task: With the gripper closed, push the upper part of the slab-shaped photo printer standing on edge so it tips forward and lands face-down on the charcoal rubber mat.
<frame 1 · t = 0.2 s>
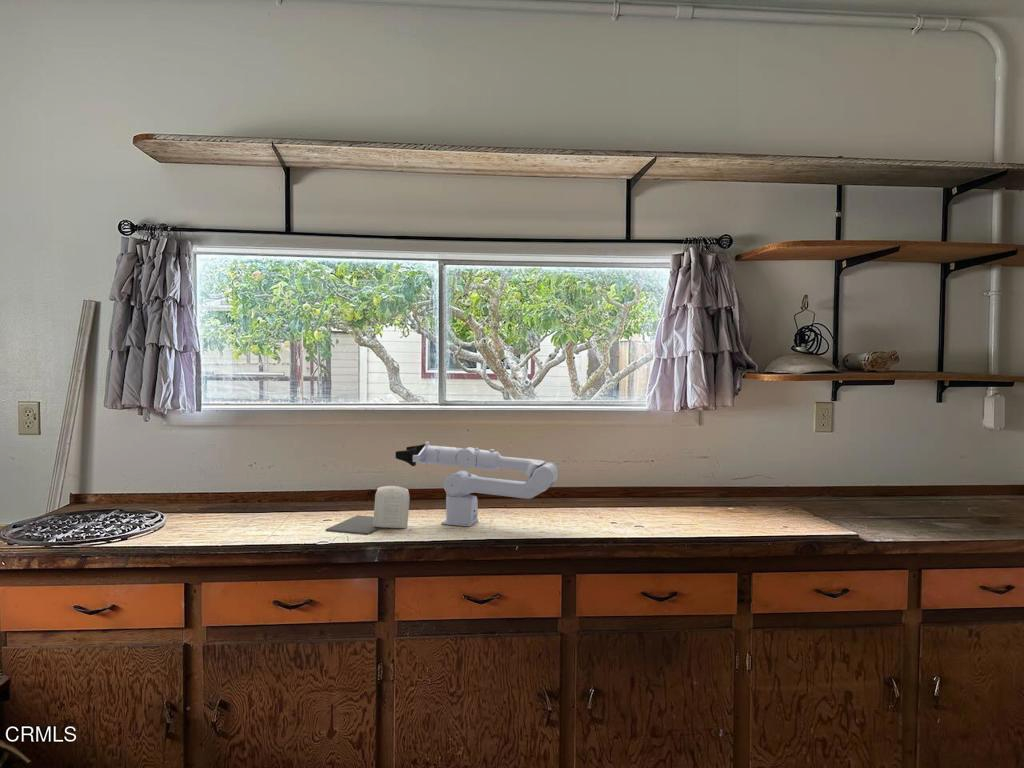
hand: (401, 452, 201), 21 cm above the counter, tool horizontal, fingers open, 7 cm apart
mat: (362, 525, 193), on the counter
photo printer: (390, 527, 190), on the counter, touching mat
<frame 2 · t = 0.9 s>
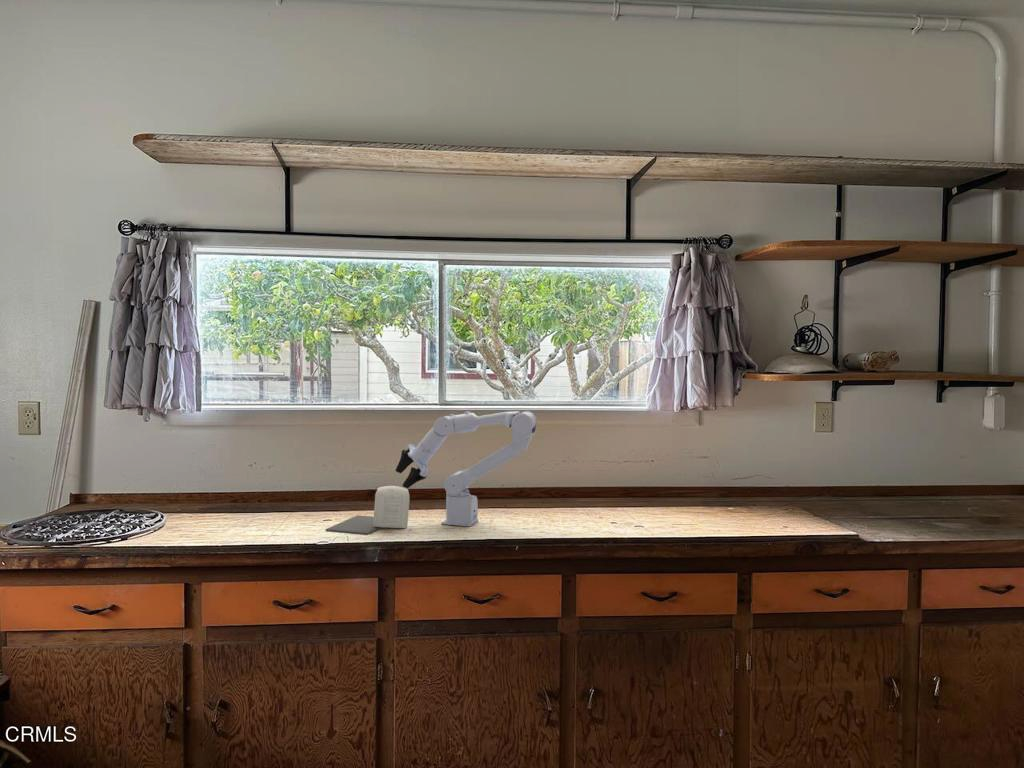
hand: (401, 479, 200), 13 cm above the counter, tool tilted 40°, fingers open, 7 cm apart
nothing on the counter moved.
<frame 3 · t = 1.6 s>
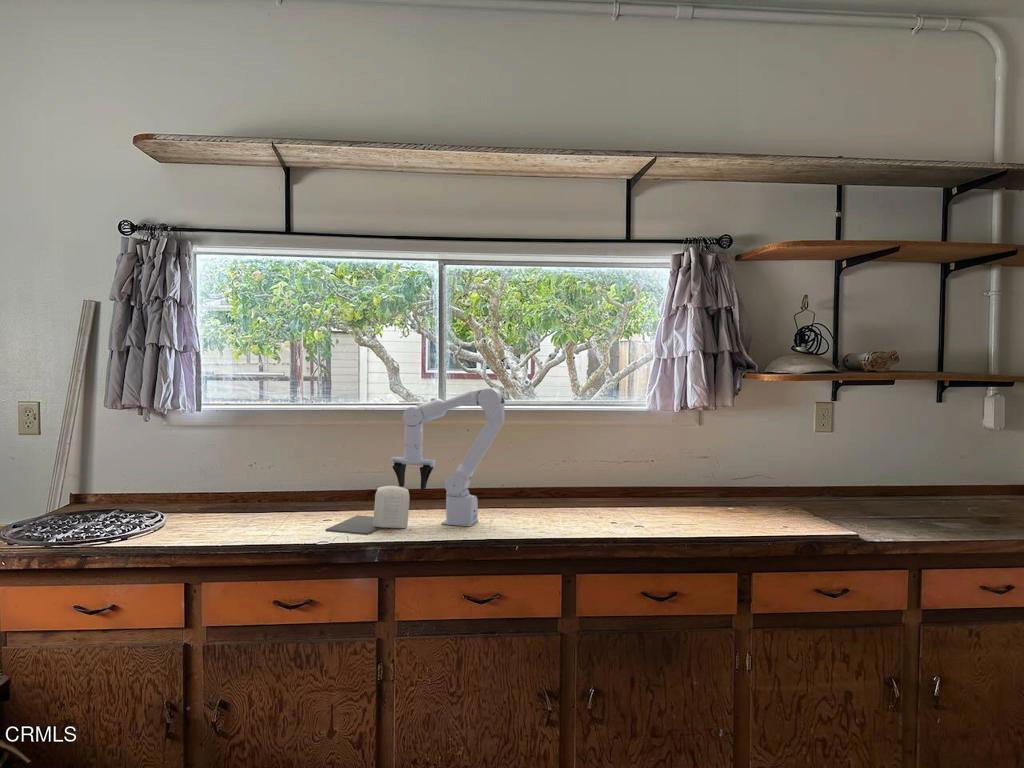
hand: (412, 487, 199), 10 cm above the counter, tool pointing down, fingers open, 7 cm apart
nothing on the counter moved.
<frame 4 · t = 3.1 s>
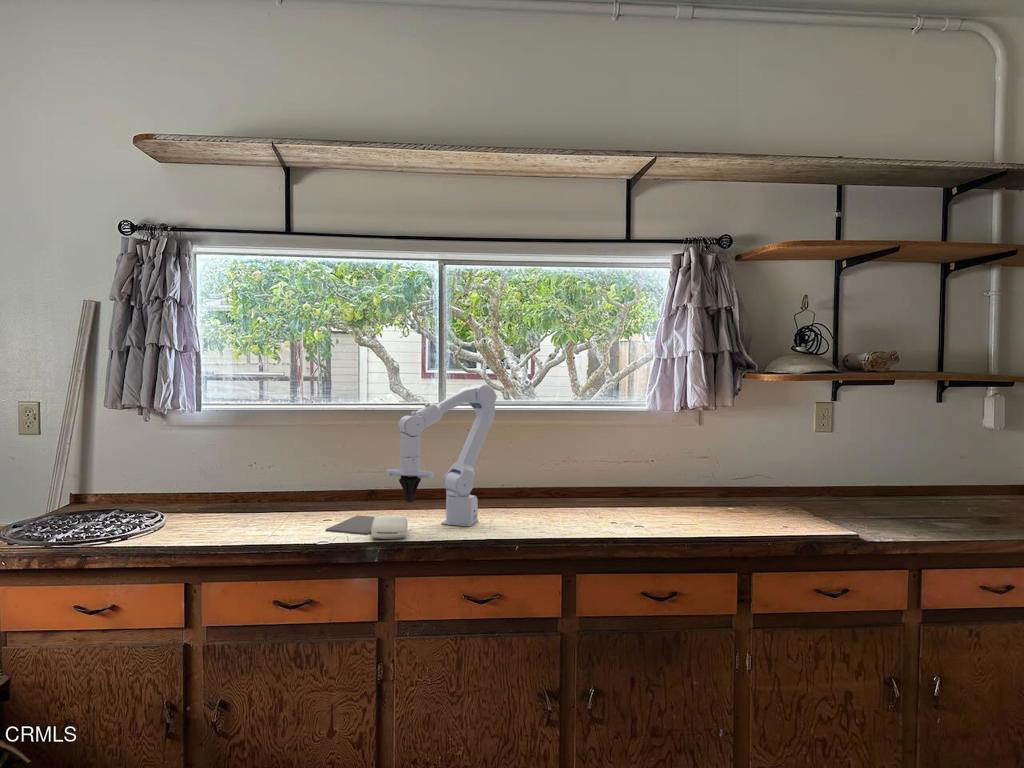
hand: (410, 501, 188), 8 cm above the counter, tool pointing down, fingers closed
photo printer: (390, 521, 188), point 2 cm above the counter, touching mat
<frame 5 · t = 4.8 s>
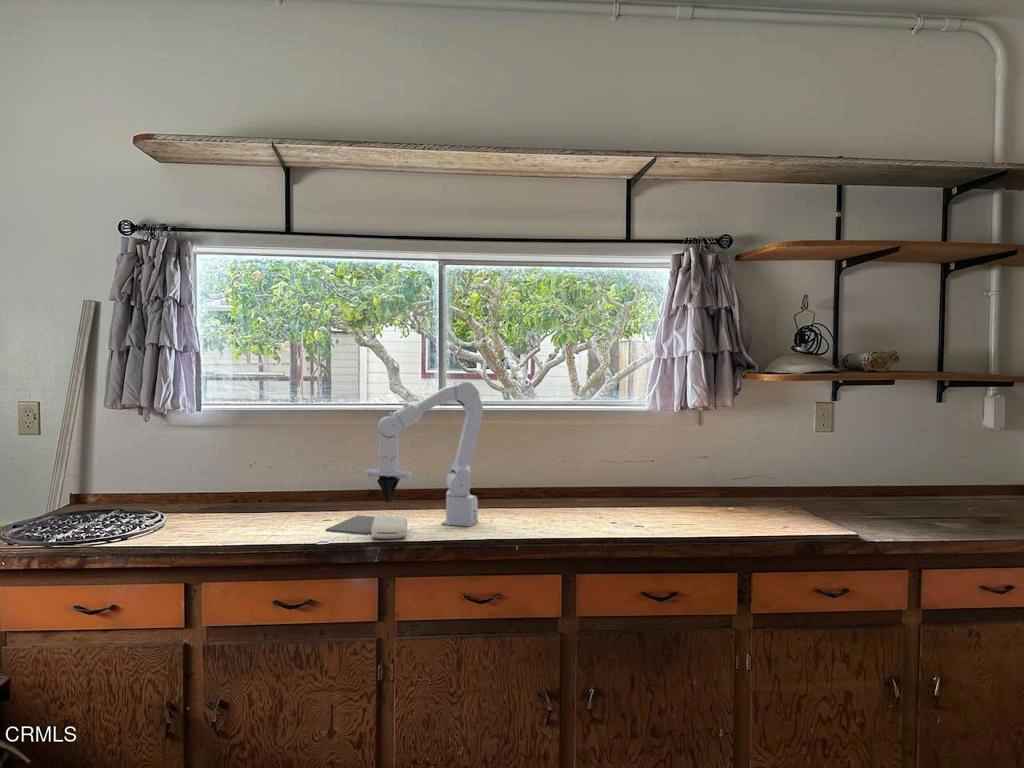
hand: (388, 501, 190), 8 cm above the counter, tool pointing down, fingers closed
nothing on the counter moved.
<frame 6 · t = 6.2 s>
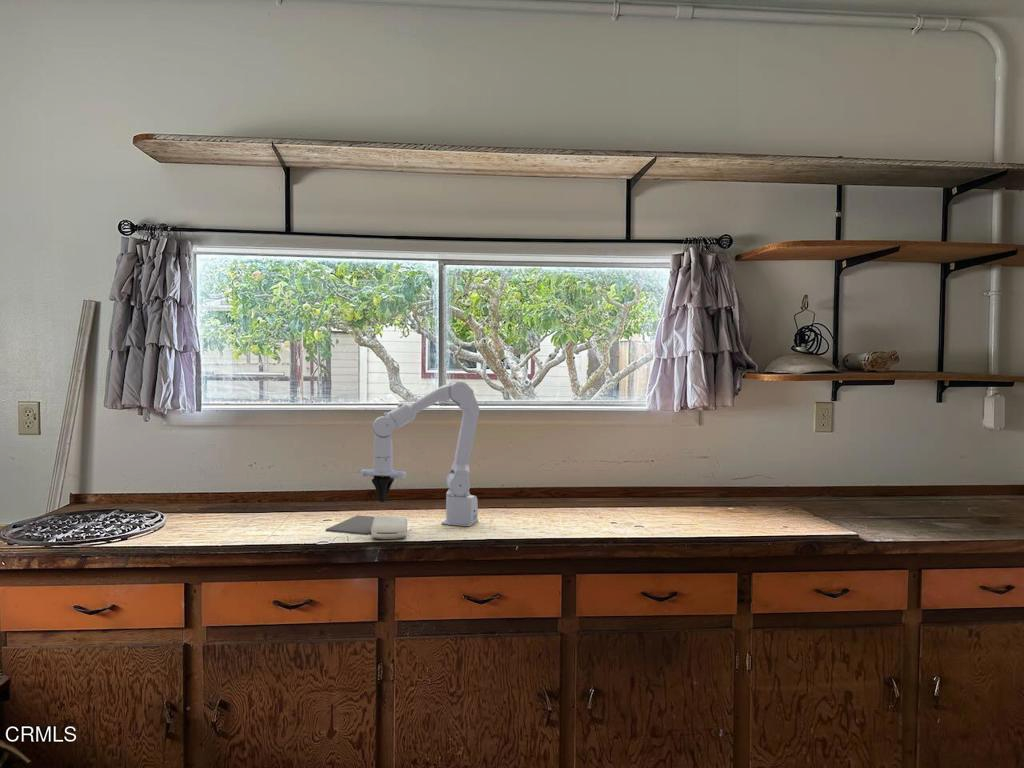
hand: (383, 501, 191), 8 cm above the counter, tool pointing down, fingers closed
nothing on the counter moved.
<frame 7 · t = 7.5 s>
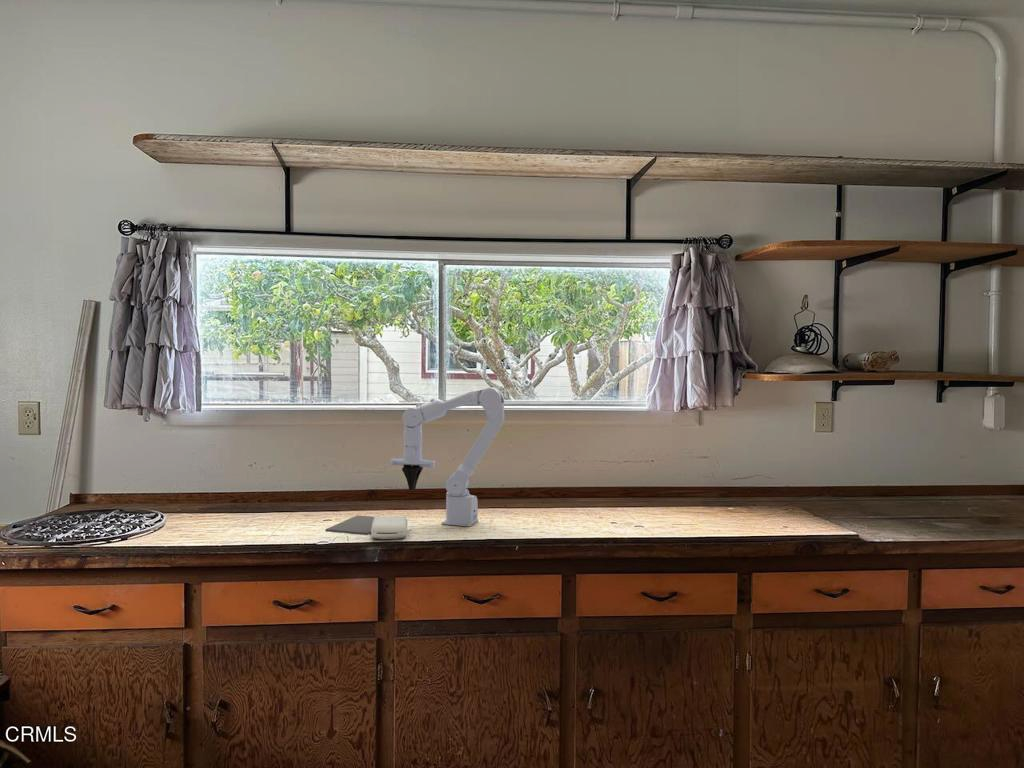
hand: (412, 489, 197), 10 cm above the counter, tool pointing down, fingers closed
nothing on the counter moved.
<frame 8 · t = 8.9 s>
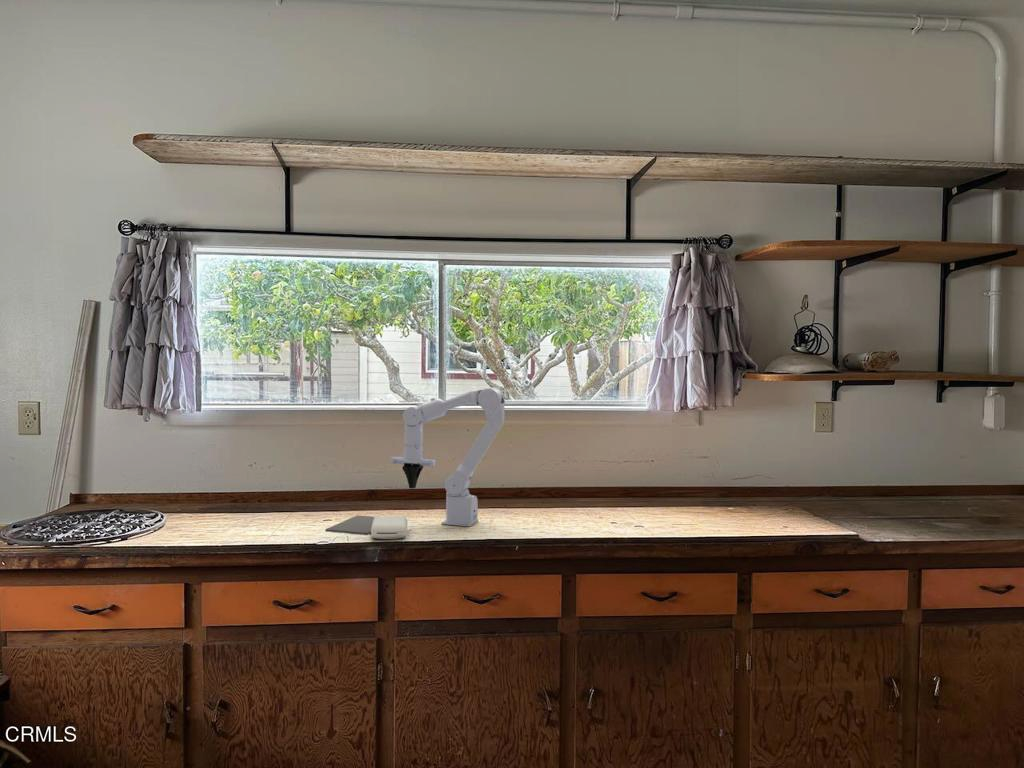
hand: (412, 487, 199), 10 cm above the counter, tool pointing down, fingers closed
nothing on the counter moved.
at the end: photo printer tilted 91°; photo printer inside the target area (6.7 cm from its centre), point 2.3 cm above the counter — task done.
